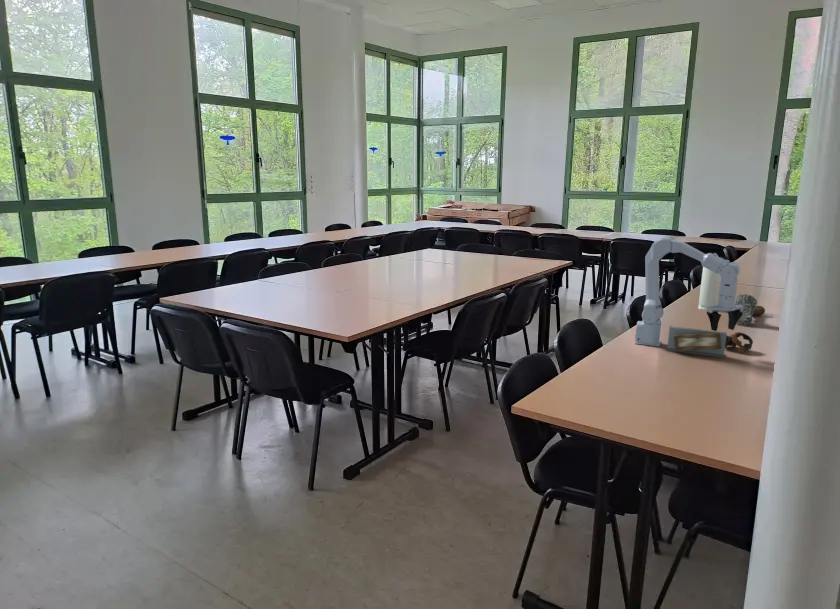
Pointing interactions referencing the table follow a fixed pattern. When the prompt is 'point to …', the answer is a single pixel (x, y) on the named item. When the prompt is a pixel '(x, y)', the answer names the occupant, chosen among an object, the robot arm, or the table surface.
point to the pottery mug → (738, 341)
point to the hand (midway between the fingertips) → (722, 329)
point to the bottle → (708, 289)
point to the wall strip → (681, 330)
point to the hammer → (748, 308)
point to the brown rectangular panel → (697, 341)
